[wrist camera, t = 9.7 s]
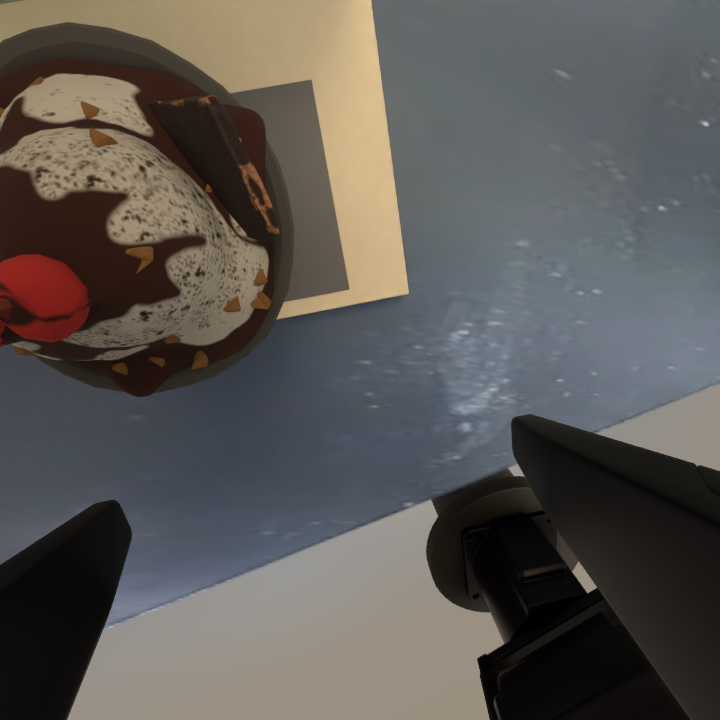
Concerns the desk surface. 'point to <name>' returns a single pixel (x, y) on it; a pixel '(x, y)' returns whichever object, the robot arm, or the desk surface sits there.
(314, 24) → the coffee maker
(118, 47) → the sundae
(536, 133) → the desk surface
